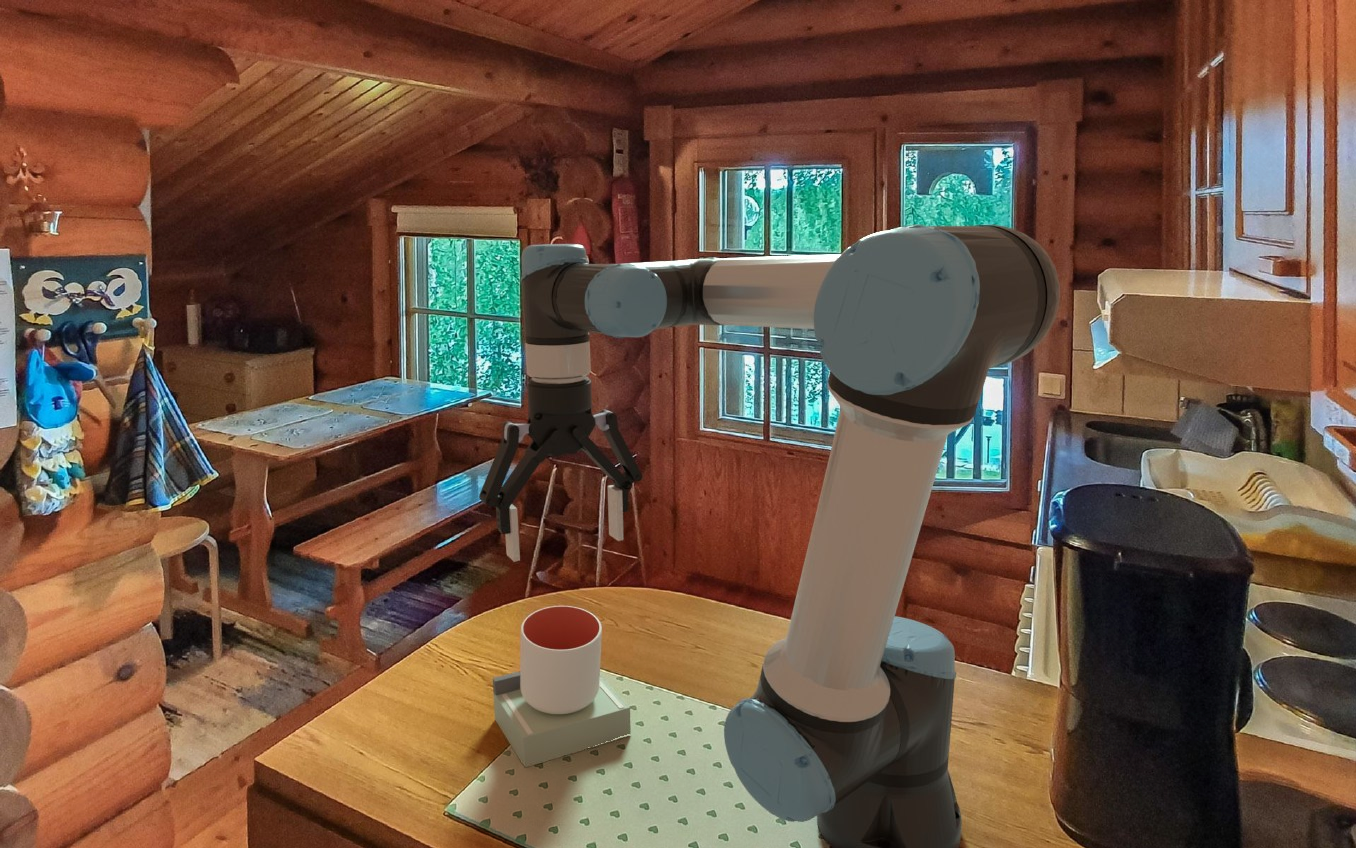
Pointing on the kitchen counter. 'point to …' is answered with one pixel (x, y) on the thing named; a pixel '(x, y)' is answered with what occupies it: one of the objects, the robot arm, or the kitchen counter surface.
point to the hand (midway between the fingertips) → (566, 547)
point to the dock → (556, 722)
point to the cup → (560, 659)
